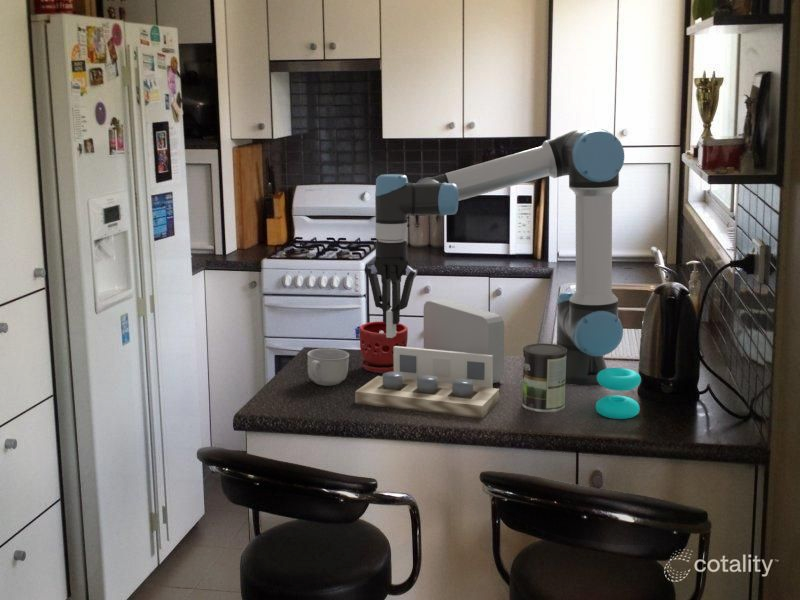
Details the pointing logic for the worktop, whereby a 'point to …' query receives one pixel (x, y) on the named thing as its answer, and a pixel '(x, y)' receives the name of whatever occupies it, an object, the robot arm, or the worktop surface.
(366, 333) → the plant pot
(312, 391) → the worktop surface
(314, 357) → the teacup
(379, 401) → the button board
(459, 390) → the button
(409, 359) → the pattern card
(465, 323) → the rounded white slab
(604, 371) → the donuts
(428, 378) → the button centre
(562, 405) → the coffee can
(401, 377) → the button
